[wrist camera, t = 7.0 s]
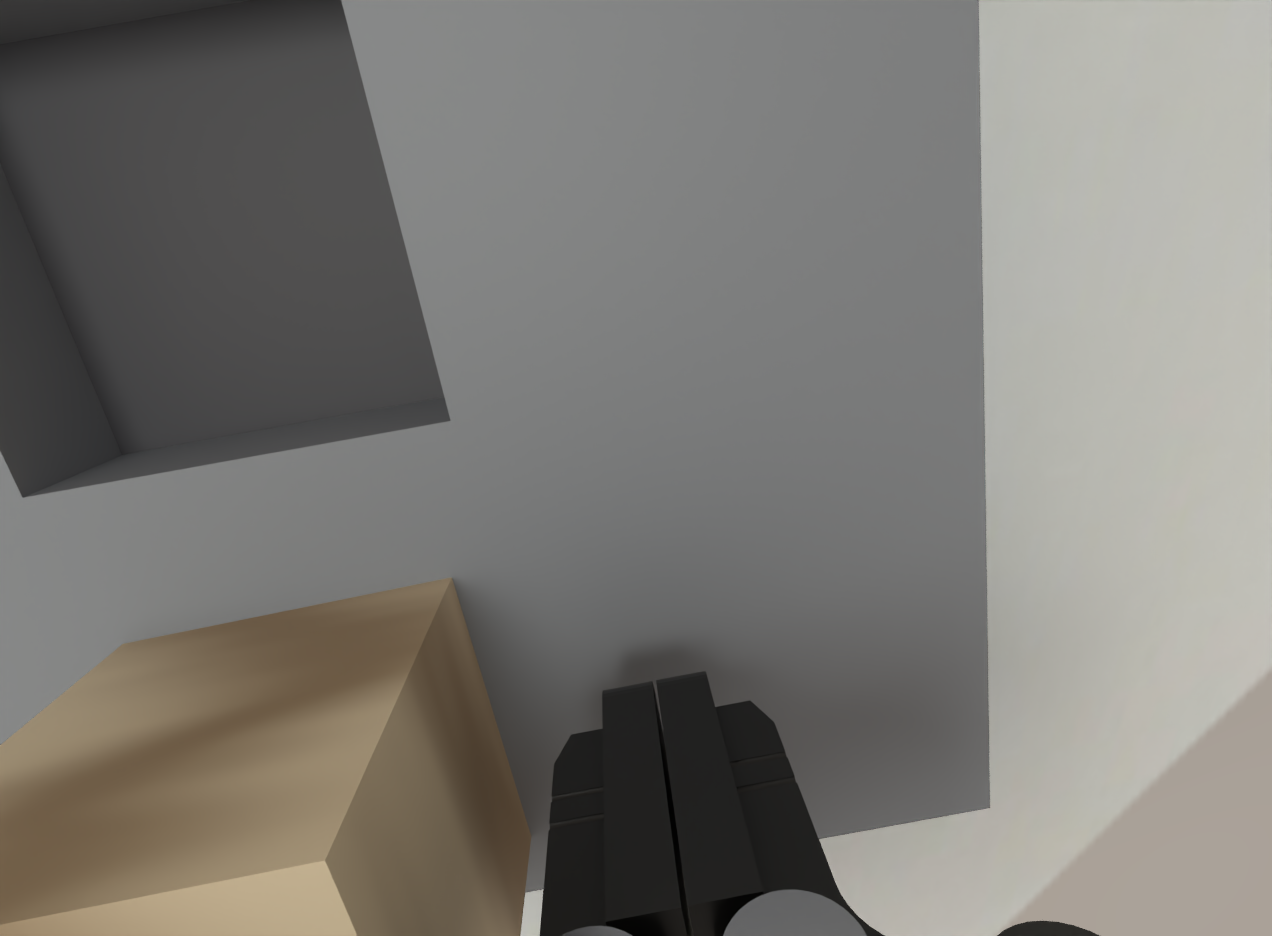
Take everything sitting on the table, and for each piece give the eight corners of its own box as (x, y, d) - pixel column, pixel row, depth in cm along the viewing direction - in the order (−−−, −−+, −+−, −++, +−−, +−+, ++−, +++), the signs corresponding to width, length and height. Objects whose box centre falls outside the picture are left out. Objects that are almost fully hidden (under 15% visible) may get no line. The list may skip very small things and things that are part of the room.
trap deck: (883, -142, 10) (1063, -387, 6) (924, 716, 15) (1042, 881, 11) (-970, 185, 10) (-1954, 143, 6) (-342, 946, 14) (-678, 1195, 11)
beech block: (452, 577, 10) (325, 860, 5) (531, 836, 12) (486, 1235, 7) (123, 643, 10) (-288, 982, 6) (245, 893, 12) (6, 1328, 7)
